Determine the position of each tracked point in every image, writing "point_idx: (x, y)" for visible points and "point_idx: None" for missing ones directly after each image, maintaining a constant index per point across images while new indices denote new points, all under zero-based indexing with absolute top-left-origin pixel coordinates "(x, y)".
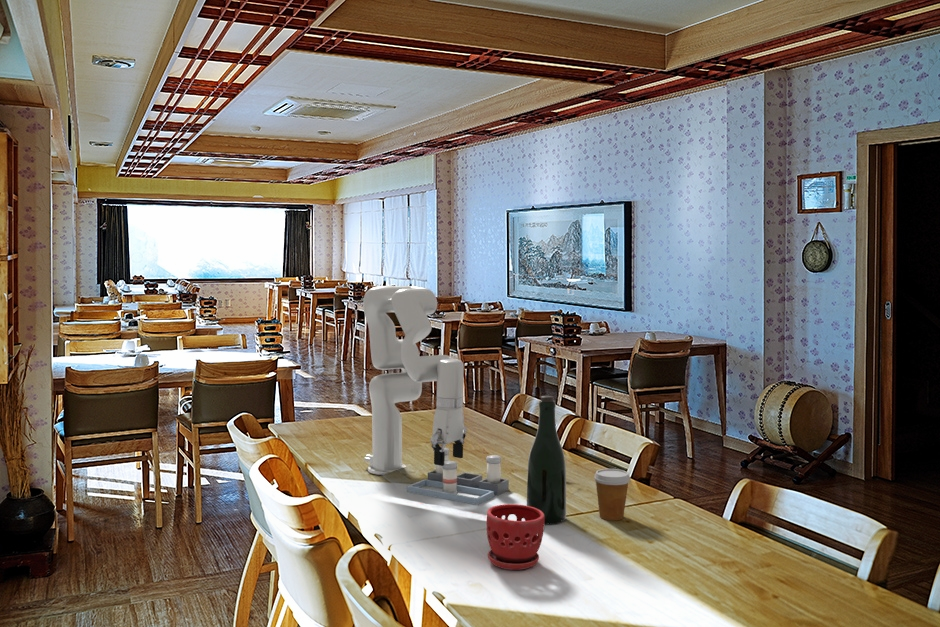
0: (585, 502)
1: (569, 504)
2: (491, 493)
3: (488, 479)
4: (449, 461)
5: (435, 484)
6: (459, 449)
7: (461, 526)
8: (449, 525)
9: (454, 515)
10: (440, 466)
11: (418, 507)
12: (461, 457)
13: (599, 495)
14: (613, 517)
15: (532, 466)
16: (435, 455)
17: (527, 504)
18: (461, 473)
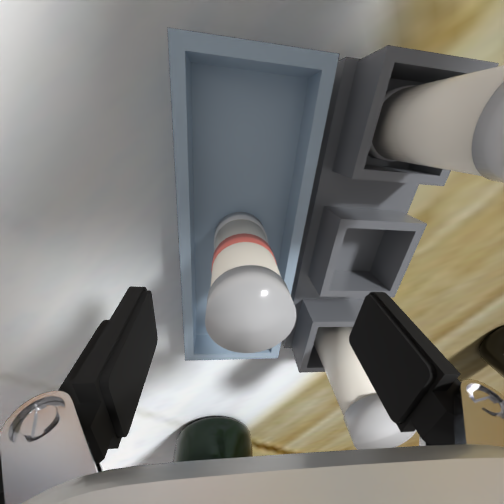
0: (335, 435)
1: (315, 426)
2: (263, 356)
3: (324, 349)
4: (275, 307)
5: (304, 142)
6: (381, 380)
7: (53, 362)
8: (34, 341)
9: (110, 315)
10: (412, 134)
11: (89, 186)
12: (352, 342)
13: None
14: None
15: None
16: (76, 366)
17: (182, 459)
18: (406, 223)
